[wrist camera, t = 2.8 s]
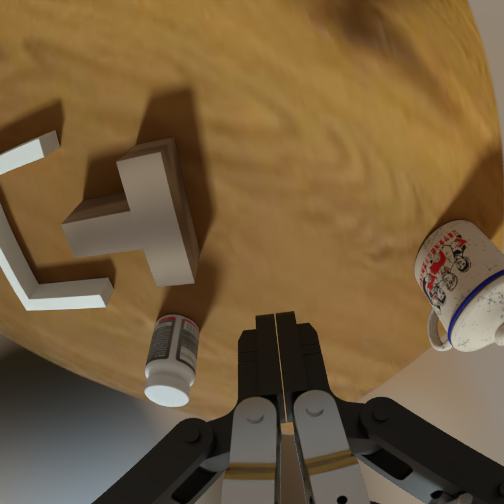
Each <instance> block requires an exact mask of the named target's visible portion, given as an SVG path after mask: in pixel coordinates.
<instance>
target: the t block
mask: <svg viewBox="0 0 504 504" xmlns="http://www.w3.org/2000/svg"><path fill="white" fill-rule="evenodd" d="M116 163H117V167H118V170H119V174H120V177H121V181H122V184H123V188H124V191H125V192H122V193H117V194H112V195H107V196H102V197H98V198H93V199H89V200H85V201H82V202H81V203H80V204H79V205H78V206H77V207H76V208H75V210H74V211H73V212H72V213H71V214H70V215H69V216H68V217H67V218H66V220H65V221H64V222H63V223H62V224H61V226H62V228H63V231H64V233H65V235H66V238H67V240H68V242H69V245H70V247H71V249H72V251H73V254H74V256H75V258H80V257H87V256H94V255H101V254H109V253H116V252H123V251H131V250H138V249H143V250H144V252H145V255H146V258H147V261H148V264H149V266H150V269H151V272H152V275H153V277H154V280H155V283H156V285H157V287H162V286H173V285H183V284H193V283H195V279H196V274H197V268H198V263H199V257H200V250H199V246H198V242H197V238H196V234H195V230H194V225H193V221H192V217H191V213H190V209H189V204H188V200H187V196H186V191H185V187H184V182H183V178H182V173H181V169H180V164H179V159H178V155H177V150H176V145H175V140H174V137H171V138H166V139H161V140H156V141H151V142H147V143H142V144H138V145H135V146H134V147H132V148H131V149H130V150H129V151H128V152H127V153H126V154H124V155H123V156H122V157H121V158H120V159H119V160H118V161H117V162H116Z"/></svg>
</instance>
